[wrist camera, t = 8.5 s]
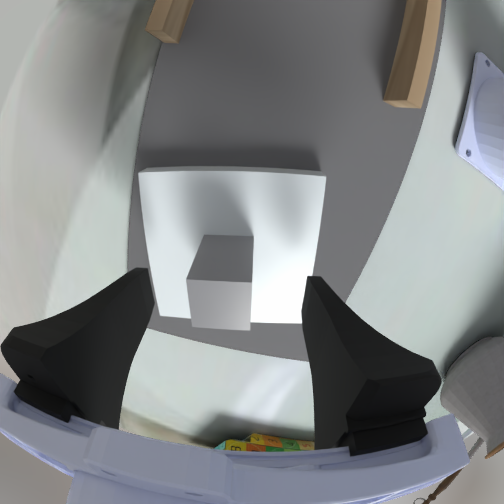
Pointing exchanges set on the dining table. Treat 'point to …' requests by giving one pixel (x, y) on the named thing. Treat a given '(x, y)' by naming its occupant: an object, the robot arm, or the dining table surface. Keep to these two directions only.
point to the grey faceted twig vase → (476, 397)
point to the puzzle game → (266, 444)
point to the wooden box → (405, 62)
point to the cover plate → (233, 212)
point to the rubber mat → (285, 127)
